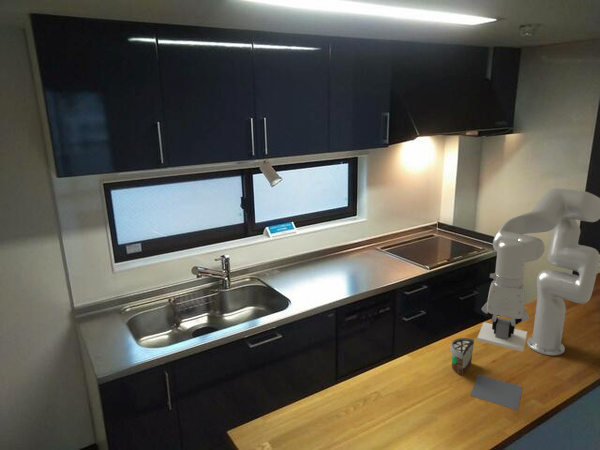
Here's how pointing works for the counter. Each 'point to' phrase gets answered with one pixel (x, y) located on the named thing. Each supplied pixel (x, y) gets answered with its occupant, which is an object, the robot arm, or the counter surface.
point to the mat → (497, 392)
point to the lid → (502, 335)
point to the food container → (461, 354)
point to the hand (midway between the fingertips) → (502, 332)
